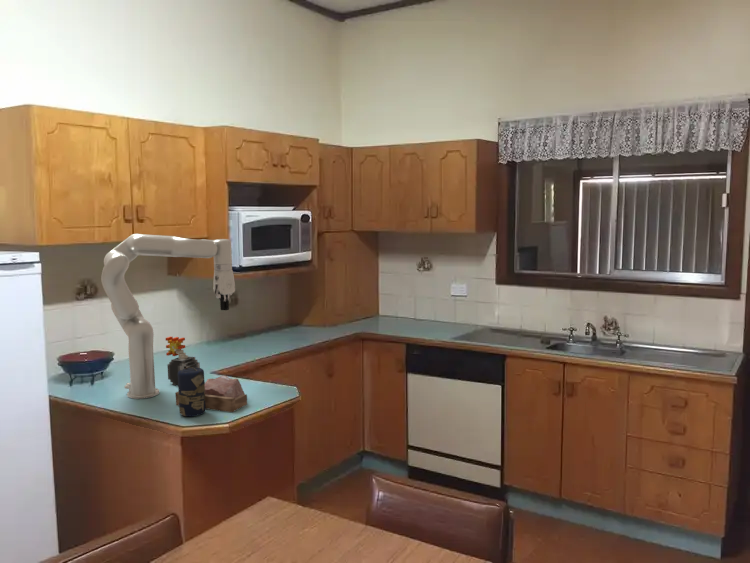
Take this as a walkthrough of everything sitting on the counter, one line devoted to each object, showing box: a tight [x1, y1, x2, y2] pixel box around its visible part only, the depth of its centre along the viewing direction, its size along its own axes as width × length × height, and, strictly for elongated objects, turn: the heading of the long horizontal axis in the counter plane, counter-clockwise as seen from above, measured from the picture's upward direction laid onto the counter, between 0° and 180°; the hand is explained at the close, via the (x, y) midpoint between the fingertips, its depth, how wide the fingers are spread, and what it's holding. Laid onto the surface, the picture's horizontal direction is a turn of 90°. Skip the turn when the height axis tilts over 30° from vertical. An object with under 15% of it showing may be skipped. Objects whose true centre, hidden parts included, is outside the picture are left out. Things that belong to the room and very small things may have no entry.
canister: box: [177, 367, 207, 417], centre depth 245 cm, size 10×10×18 cm
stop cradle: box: [175, 391, 248, 413], centre depth 257 cm, size 26×10×5 cm, turn 68°
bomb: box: [165, 336, 201, 386], centre depth 287 cm, size 8×13×20 cm, turn 67°
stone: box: [205, 375, 245, 398], centre depth 261 cm, size 8×20×13 cm
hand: (224, 309), depth 285 cm, fingers closed
